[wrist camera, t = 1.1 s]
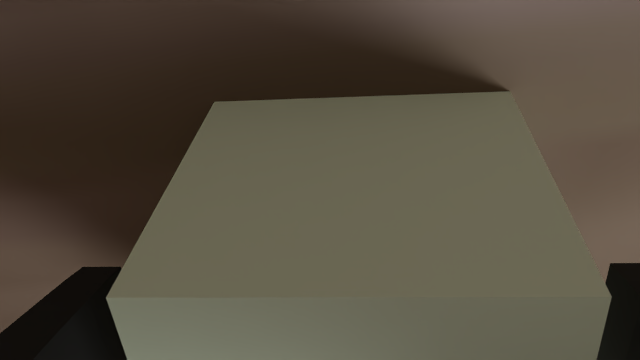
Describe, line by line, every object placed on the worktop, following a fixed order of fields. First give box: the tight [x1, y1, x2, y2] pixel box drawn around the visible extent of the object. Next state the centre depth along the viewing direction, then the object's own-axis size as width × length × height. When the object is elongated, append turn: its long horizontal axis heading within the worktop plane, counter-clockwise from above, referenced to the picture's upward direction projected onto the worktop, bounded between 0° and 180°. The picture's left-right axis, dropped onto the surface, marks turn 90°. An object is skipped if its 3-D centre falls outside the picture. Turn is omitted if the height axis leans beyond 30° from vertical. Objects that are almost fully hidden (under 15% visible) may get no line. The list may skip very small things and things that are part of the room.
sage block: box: [106, 91, 612, 360], centre depth 9 cm, size 5×5×5 cm
